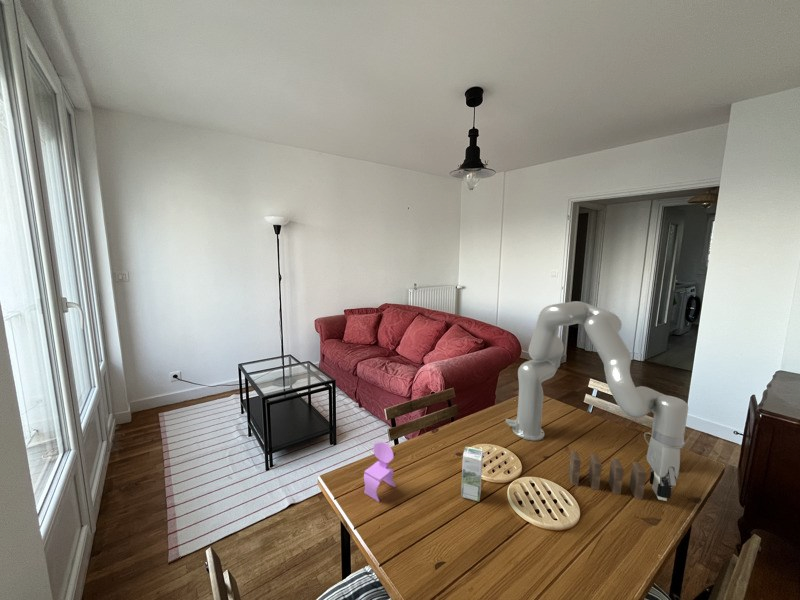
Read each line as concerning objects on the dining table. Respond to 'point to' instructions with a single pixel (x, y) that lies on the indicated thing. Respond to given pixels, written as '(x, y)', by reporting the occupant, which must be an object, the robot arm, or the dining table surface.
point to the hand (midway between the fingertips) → (659, 490)
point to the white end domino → (655, 485)
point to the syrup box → (472, 473)
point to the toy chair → (379, 470)
